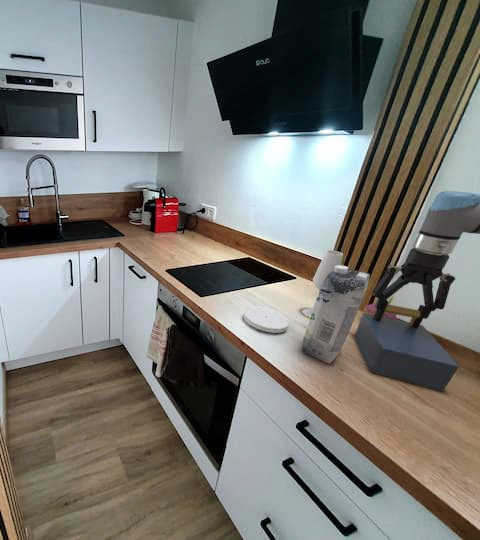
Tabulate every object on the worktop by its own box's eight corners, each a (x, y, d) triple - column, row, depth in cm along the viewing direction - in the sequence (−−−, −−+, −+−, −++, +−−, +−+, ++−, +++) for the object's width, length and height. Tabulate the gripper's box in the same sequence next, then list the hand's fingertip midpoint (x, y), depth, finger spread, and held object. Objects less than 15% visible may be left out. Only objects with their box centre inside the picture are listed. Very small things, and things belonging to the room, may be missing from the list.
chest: (354, 335, 93) (362, 316, 90) (412, 348, 87) (422, 329, 84) (371, 372, 77) (381, 350, 75) (442, 391, 72) (457, 369, 69)
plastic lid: (234, 314, 102) (235, 308, 101) (266, 310, 106) (268, 304, 105) (261, 338, 90) (263, 331, 89) (297, 332, 94) (299, 325, 93)
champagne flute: (326, 320, 101) (350, 257, 91) (305, 317, 102) (327, 254, 92) (319, 310, 107) (341, 250, 97) (299, 308, 108) (319, 248, 98)
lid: (361, 314, 91) (369, 297, 88) (421, 327, 85) (431, 309, 83) (381, 350, 75) (391, 331, 72) (457, 369, 69) (471, 348, 66)
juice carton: (341, 351, 85) (376, 268, 74) (332, 368, 78) (369, 280, 68) (307, 337, 91) (335, 259, 80) (297, 352, 84) (325, 268, 73)
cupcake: (397, 332, 95) (413, 301, 90) (369, 329, 96) (383, 298, 91) (379, 318, 103) (393, 289, 98) (354, 315, 104) (366, 286, 99)
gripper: (386, 248, 77) (355, 319, 86) (494, 263, 69) (448, 339, 78) (377, 241, 83) (349, 307, 93) (475, 253, 75) (435, 325, 84)
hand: (395, 322), depth 85 cm, fingers closed on lid, 8 cm apart
